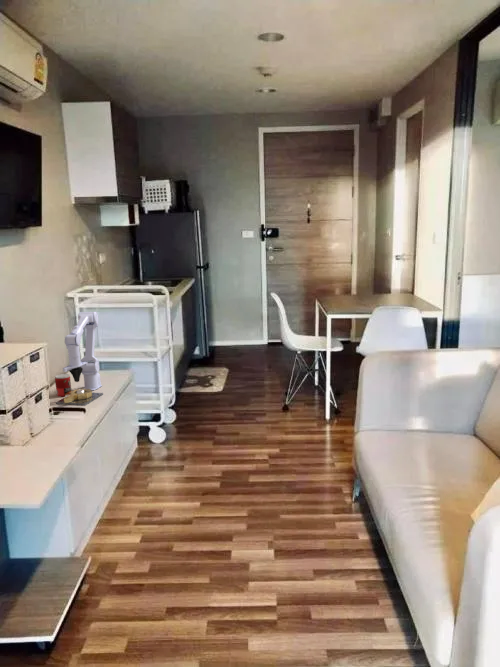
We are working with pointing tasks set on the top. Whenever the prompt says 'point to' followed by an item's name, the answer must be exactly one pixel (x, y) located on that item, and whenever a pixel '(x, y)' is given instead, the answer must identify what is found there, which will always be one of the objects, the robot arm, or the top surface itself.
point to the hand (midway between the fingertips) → (77, 381)
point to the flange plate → (81, 401)
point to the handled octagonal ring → (78, 395)
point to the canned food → (63, 384)
